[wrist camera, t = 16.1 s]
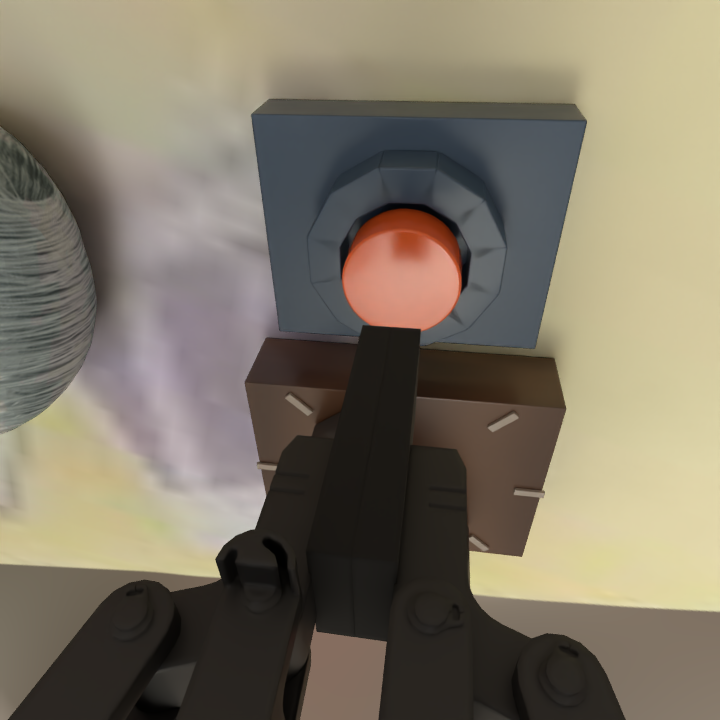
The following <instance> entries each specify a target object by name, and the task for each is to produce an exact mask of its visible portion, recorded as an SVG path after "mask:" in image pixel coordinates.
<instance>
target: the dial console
mask: <svg viewBox="0 0 720 720" xmlns="http://www.w3.org/2000/svg"><path fill="white" fill-rule="evenodd" d="M357 345H358V344H344V343H330V342H316V341H302V340H288V339H274V338H266V339H265V341H264V343H263V345H262V347H261V349H260V351H259V353H258V356H257V358H256V360H255V362H254V364H253V366H252V368H251V370H250V372H249V374H248V376H247V378H246V381H245V387H246V392H247V397H248V403H249V408H250V413H251V418H252V423H253V429H254V434H255V439H256V444H257V449H258V454H259V460H260V462H257V468H258V469H261V470H262V475H263V480H264V485H265V491H266V496H267V494H268V491H269V490H270V485H271V482H272V479H273V476H274V475H275V470H276V468H277V465H278V462H279V459H280V456H281V453H282V451H283V450H284V449H285V448H286V447H287V446H288V444H289V443H290V442H291V441H292V440H293V439H294V438H295V437H296V436H297V435H302V436H312V433H313V430H314V427H315V425H317V424H319V423H321V422H322V421H324V420H326V419H328V418H330V417H332V416H334V415H336V414H337V413H339V412H341V409H342V405H343V401H344V397H345V393H346V389H347V385H348V381H349V377H350V373H351V369H352V365H353V361H354V357H355V353H356V349H357ZM565 412H566V406H565V401H564V397H563V393H562V388H561V384H560V380H559V375H558V371H557V367H556V362H555V359H553V358H539V357H525V356H511V355H497V354H483V353H469V352H455V351H442V350H428V349H420V353H419V368H418V383H417V399H416V412H415V423H414V433H413V444H412V445H419V446H430V447H440V448H451V449H457V451H458V453H459V455H460V457H461V459H462V461H463V463H464V465H465V467H466V469H467V526H468V527H469V551H476V552H485V553H494V554H502V555H511V556H520V557H522V555H523V552H524V549H525V545H526V542H527V539H528V535H529V532H530V529H531V525H532V522H533V518H534V515H535V512H536V508H537V505H538V502H539V498H544V494H545V491H542V488H543V485H544V482H545V478H546V475H547V472H548V468H549V465H550V462H551V458H552V455H553V452H554V448H555V445H556V442H557V438H558V435H559V432H560V428H561V425H562V422H563V418H564V415H565Z"/></svg>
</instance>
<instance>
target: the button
mask: <svg viewBox="0 0 720 720" xmlns="http://www.w3.org/2000/svg"><path fill="white" fill-rule="evenodd" d="M342 287H343V291H344V295H345V297H346V299H347V302H348V303H349V305H350V307H351V308H352V309H353V311H354V312H355V313H356V314H357V315H358V316H359V317H360V318H361V319H362V320H363V321H365V322H366V323H368V324H369V325H371V326H386V327H400V328H415V329H421V332H422V331H425V330H428V329H430V328H432V327H434V326H436V325H437V324H439V323H440V322H442V321H443V320H444V319H445V318H446V317H447V316H448V315H449V314H450V313H451V312H452V310H453V309H454V308H455V306H456V304H457V302H458V300H459V297H460V293H461V288H462V259H461V251H460V247H459V244H458V242H457V239H456V237H455V236H454V234H453V233H452V231H451V230H450V229H449V228H448V227H447V226H446V225H445V224H444V223H443V222H442V221H441V220H439V219H438V218H436V217H435V216H433V215H431V214H429V213H426V212H423V211H420V210H415V209H407V208H405V209H393V210H389V211H385V212H382V213H380V214H378V215H376V216H374V217H372V218H371V219H369V220H368V221H367V222H366V223H364V225H363V226H362V227H361V228H360V229H359V230H358V232H357V233H356V235H355V237H354V239H353V241H352V244H351V247H350V249H349V252H348V255H347V258H346V261H345V264H344V267H343V272H342Z"/></svg>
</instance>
